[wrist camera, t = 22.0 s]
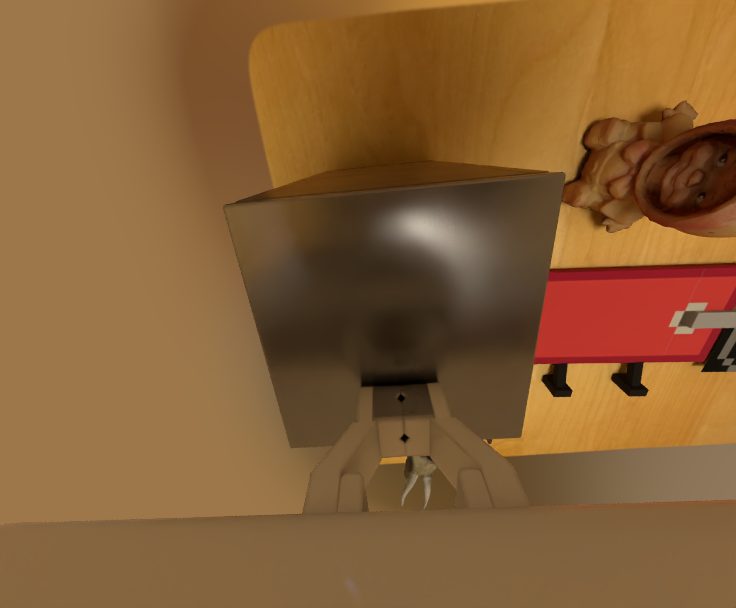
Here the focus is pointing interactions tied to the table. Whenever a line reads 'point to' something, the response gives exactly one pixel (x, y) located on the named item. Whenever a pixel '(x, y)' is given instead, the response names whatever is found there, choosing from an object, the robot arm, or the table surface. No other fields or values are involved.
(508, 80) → the table surface
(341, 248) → the trash can lid
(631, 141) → the figurine
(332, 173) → the trash can
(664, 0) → the table surface
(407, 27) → the table surface
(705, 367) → the red board with handle
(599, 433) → the table surface
